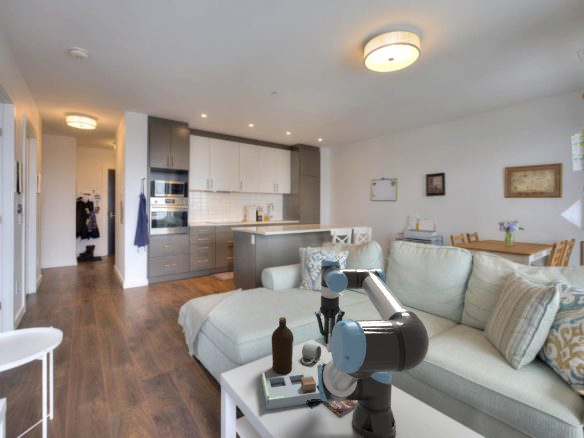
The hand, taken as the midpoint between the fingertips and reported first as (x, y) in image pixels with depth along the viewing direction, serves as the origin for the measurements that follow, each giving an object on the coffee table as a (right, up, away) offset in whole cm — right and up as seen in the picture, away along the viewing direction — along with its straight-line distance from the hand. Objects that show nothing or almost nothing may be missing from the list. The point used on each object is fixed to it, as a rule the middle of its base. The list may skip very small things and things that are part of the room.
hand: (329, 350), depth 119 cm
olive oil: (-20, -18, +18) cm, 32 cm away
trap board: (-16, -18, +1) cm, 25 cm away
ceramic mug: (-6, -17, +26) cm, 32 cm away
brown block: (-9, -16, -1) cm, 18 cm away
